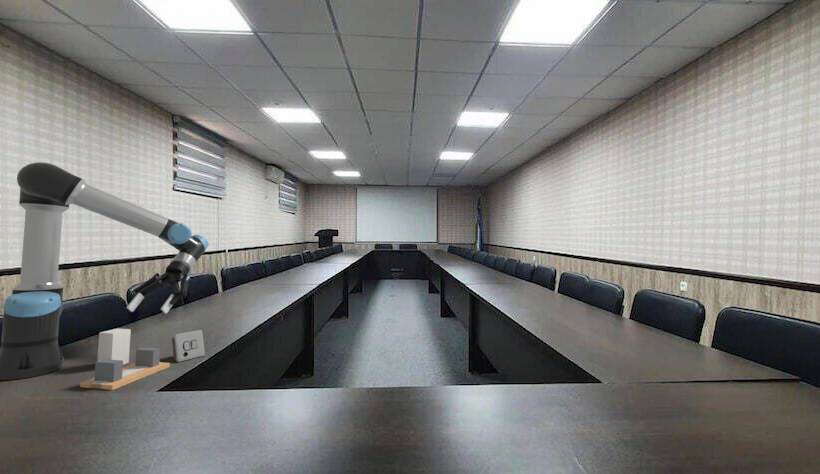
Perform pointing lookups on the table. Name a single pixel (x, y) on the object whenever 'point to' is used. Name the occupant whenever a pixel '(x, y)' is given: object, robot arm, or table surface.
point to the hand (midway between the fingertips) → (146, 310)
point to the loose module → (114, 345)
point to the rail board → (125, 370)
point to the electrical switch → (188, 345)
